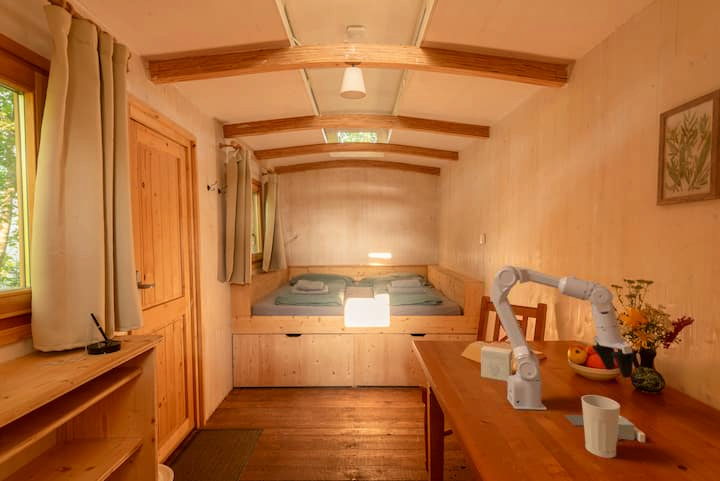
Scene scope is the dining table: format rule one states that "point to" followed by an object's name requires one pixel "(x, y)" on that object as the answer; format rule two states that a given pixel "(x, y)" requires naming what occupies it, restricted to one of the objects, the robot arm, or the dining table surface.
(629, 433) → the block
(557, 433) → the dining table surface
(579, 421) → the mat
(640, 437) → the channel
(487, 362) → the skincare box
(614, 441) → the cup
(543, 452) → the dining table surface
